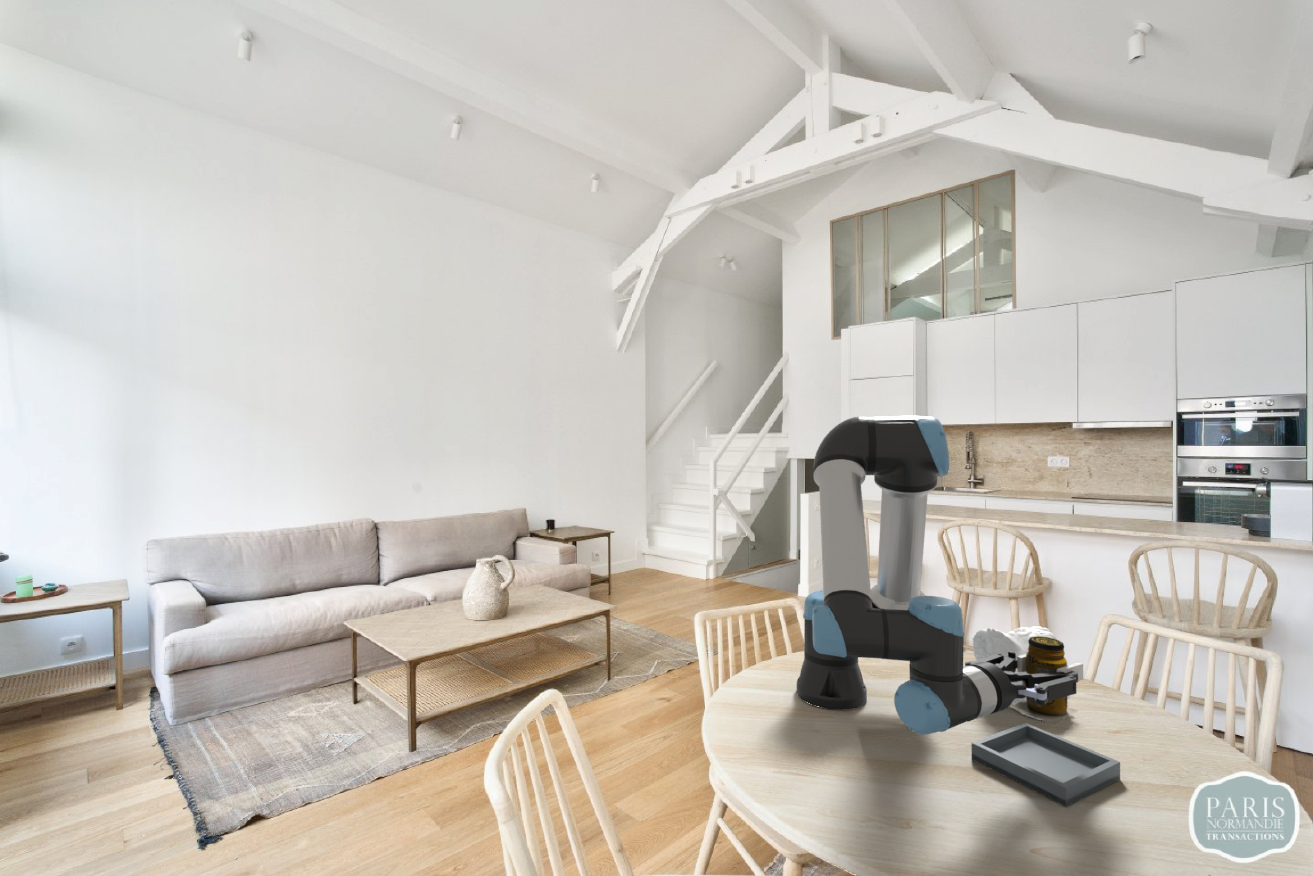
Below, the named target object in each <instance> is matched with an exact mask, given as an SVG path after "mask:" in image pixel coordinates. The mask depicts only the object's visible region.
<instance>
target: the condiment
mask: <svg viewBox="0 0 1313 876" xmlns="http://www.w3.org/2000/svg"><path fill="white" fill-rule="evenodd" d="M1028 642H1029V647H1028V650H1029V651H1028V653H1027V654H1026V673H1028V674H1041V673H1053V672H1057V669H1059V668H1062V667H1065V666H1068V661H1067V658H1066V657H1065V645H1064V642H1062V641H1061V640H1059V639H1057V638H1056V639H1053V638H1049V637H1038V636H1037V637H1031V638H1029V640H1028ZM1067 702H1068V699H1067V696H1066V697H1062V698H1059V699H1055V700H1051V701H1048V702H1047V703H1046V704H1045V705H1039V704H1037V703H1036V700H1035V698H1033V697H1029V696H1026V700H1023V701H1021V702H1018V703H1016V704H1015V705H1012V706H1009V708H1011V709H1014V710H1016V711H1017V710H1018V711H1020V712H1023V713H1025V714H1028V715H1031V716H1034V717H1035V718H1040V719H1043V720H1045V722H1048V723H1049V722H1050V723H1053V724H1057V723H1058V722H1060V721H1062V720H1064V719H1065V718H1069V717H1070V716H1072V715H1074V713H1077V712H1078V711H1079V710H1078V709H1075V708H1071V707H1069V706H1068V707H1067ZM1018 711H1017V712H1018ZM1020 712H1019V713H1020Z"/></svg>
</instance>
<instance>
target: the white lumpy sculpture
mask: <svg viewBox="0 0 1313 876" xmlns="http://www.w3.org/2000/svg"><path fill="white" fill-rule="evenodd" d="M1037 636H1038V637H1049V638H1053V639H1056V640H1057V637H1056V636H1055V634H1054V633H1053V632H1051V630H1050V629H1049V628H1047V627H1043V626H1041V625H1040V626H1037V625H1034V626H1030V627H1028V626H1027V627H1026V626H1025V627H1021V626H1020V627H1018V628H1014V629H1013V630H1010V631H1009V632H1003V631H1001V630H999V629H995V628H989V627H988V628H985V629H980V630H977V631H976V632H975V634H974V635H973V637H972V651H973V656H974V657H975V659H976V660H979V659H982V658H985V657H988V656H991V655H994V654H997V653H1001V654H1003V655H1004V657H1006V658H1007V657H1008V652H1015V653H1016V657H1017V656H1021V655H1024V654H1027V653H1028V651H1029V650H1028V647H1029V642H1028V640H1029V638H1031V637H1037ZM976 660H975V661H976ZM1016 672H1017V668H1016ZM1016 672H1015V673H1016ZM1069 699H1071V695H1070V696H1067V700H1069ZM1023 700H1026V697H1025V698H1022V699H1021V698H1018V699H1014V701H1013V702H1012V703H1011V705H1010V706H1012V705H1015V704H1016V703H1018V702H1021V701H1023ZM1010 706H1009V707H1010ZM1067 707H1068V708H1069V703H1068V701H1067ZM1016 711H1017V712H1018V713H1020V714H1021V715H1023V716H1025V715H1026V716H1025V717H1029V718H1031V719H1034V720H1038V721H1041V720H1042V722H1043V721H1045V720H1043V719H1040V718H1035V717H1034V716H1031V715H1028V714H1025V713H1023V712H1020V711H1018V710H1016ZM1045 722H1046V721H1045Z"/></svg>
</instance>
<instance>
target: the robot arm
mask: <svg viewBox="0 0 1313 876" xmlns="http://www.w3.org/2000/svg"><path fill="white" fill-rule="evenodd" d="M947 440H948V439H947V436H946V433H945V429H944V426H943V424H942V423H941V421H940V420H939V419H938V418H937V417H934V416H927V415H926V416H925V415H923V416H922V415H915V414H912V415H891V416H889V415H888V416H885V415H884V416H883V415H882V416H863V415H862V416H860V415H859V416H853V417H851V418H847V419H845V420H843V421H841V422H839V423H838V424H837V425H835V426H834V427H833V428H832V429H831V430H830V431H829V432H828V433H827V434H826V435H825V437H823V439H822V441H821V443H820V444H819V446H818V448H817V451H816V452H815V456H814V458H813V459H814V461H813V467H812V469H813V470H812V471H813V474H812V475H813V481H814V483H815V484H816V485H817V486H818V488H819V489H818V491H819V507H820V508H819V509H820V512H819V514H820V516H819V517H820V535H821V536H820V537H821V539H820V540H821V562H822V565H821V566H822V568H821V569H822V587H823V588H822V589H819V590H815V591H813V592H811V593H809V594H808V595H807V596H806V597H805V600H804V608H803V610H804V611H803V614H802V617H803V619H804V626H803V627H804V628H803V629H804V636H803V637H804V639H803V640H804V641H803V643H804V644H803V645H804V647H803V649H804V655H803V656H804V657H803V658H804V659H803V662H802V665H801V669H800V672H799V676H798V677H797V681H796V695H797V694H798V695H797V696H799V697H800V698H801V699H802V700H801V699H800V698H799V697H798V698H799V699H800V700H801V701H803V700H804V701H806V702H808V703H810V704H812V705H811V706H813V705H816V706H819V707H818V708H820V707H822V708H821V709H824V708H826V709H825V710H830V711H831V710H833V711H850V710H856V709H858V708H861V707H863V706H865V704H866V703H867V702H868V701H867V700H868V699H867V697H868V696H867V695H868V693H867V691H868V690H867V686H866V684H865V683H864V679H863V675H862V671H861V668H860V666H859V665H860V664H859V658H865V659H866V658H867V659H882V660H890V661H891V660H892V661H902V662H903V661H904V662H909V680H907V681H904V682H903V683H902V684H900V685H899V686H897V689H896V691H895V693H894V695H893V696H894V698H893V701H894V707H895V711H896V713H897V716H898V718H899V719H900V721H901V722H902V723H903V724H904V725H905V726H906V728H908V729H909V730H910V731H912V732H914V733H915V734H918V735H924V736H925V735H926V736H927V735H931V734H935V733H939V732H940V733H942V732H946V731H947V730H949V729H952V728H955V727H956V726H959V725H961V724H964V723H966V722H967V723H968V722H970V721H971V722H972V721H974V720H976V719H979V718H982V717H986V716H989V715H992V714H996V713H998V712H1001V711H1004V710H1006V709H1008V708H1010V705H1011V703H1012V702H1013V701H1014V699H1018V698H1021V699H1022V698H1025V697H1026V696H1029V697H1033V698H1035V700H1036V703H1037V704H1039V705H1045V704H1046V703H1047V702H1048V701H1051V700H1055V699H1059V698H1062V697H1066V696H1070V697H1071V696H1072V695H1073V696H1074V695H1076V694H1077V683H1078V682H1079V681H1083V680H1084V663H1083V662H1075V663H1072V664H1069V665H1068V664H1067V666H1065V667H1062V668H1059V669H1057V672H1053V673H1041V674H1028V673H1026V654H1024V655H1021V656H1017V657H1016V653H1015V652H1008V657H1007V658H1006V657H1004V655H1003V654H1001V653H997V654H994V655H991V656H988V657H985V658H982V659H979V660H971V661H965V662H964V645H965V644H964V637H965V632H964V619H963V610H962V608H961V606H960V604H959V603H957V602H956V601H955V600H952V599H949V598H946V597H943V596H936V595H935V596H933V595H925V593H924V592H923V591H922V590H921V589H922V588H921V586H922V585H921V584H922V573H923V572H922V570H923V561H924V560H923V559H924V548H925V547H924V546H925V544H924V543H925V534H926V533H925V532H926V520H927V519H926V518H927V509H928V508H927V506H928V496H929V495H928V494H929V493H930V492H932V491H934V490H936V487H937V484H938V477H940V478H942V477H945V476H947V475H948V474H949V471H950V454H949V453H950V452H949V447H948V441H947ZM867 476H874V480H873V481H874V483H875V484H876V486H878V487H879V488H880V489H881V501H880V502H881V503H880V504H881V505H880V522H879V539H878V540H879V541H878V543H879V545H878V560H877V561H878V563H877V564H878V565H877V583H876V584H875V585H874V586H872V587H871V581H870V580H871V579H870V569H869V560H868V559H869V558H868V547H867V538H866V537H867V536H866V525H865V524H866V523H865V514H864V503H863V495H862V494H863V493H862V485H863V483H864V482H865V481H866V477H867ZM1016 668H1017V672H1016ZM1015 672H1016V673H1015ZM804 701H803V702H804ZM806 702H805V703H806ZM808 703H807V704H808ZM810 704H809V705H810ZM816 706H815V707H816Z"/></svg>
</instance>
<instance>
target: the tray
mask: <svg viewBox="0 0 1313 876" xmlns="http://www.w3.org/2000/svg"><path fill="white" fill-rule="evenodd" d="M971 760H972V761H974V762H976V763H978V764H980V765H982V766H984V767H986V768H988V769H990V770H992V771H994V772H996V773H998V774H1000V775H1002V776H1003V777H1006V778H1008V779H1010V780H1012V781H1013V782H1016V783H1017V784H1019V785H1021V786H1023V787H1025V788H1027V789H1030V790H1031V791H1032V792H1033V791H1034V792H1035V793H1036V794H1039V795H1041V796H1043V797H1045V798H1047V799H1049V800H1051V801H1053V802H1055V803H1056V804H1059V805H1061V806H1062V807H1064V808H1067V807H1069V806H1071V805H1073V804H1075V803H1077V802H1079V801H1081V800H1083V799H1085V798H1088V797H1089V796H1091V795H1092V794H1095V793H1097V792H1099V791H1101V790H1102V789H1104V788H1107V787H1109V786H1110V785H1113V784H1115V783H1117V782H1118V781H1121V761H1118V760H1116V759H1114V758H1111V757H1109V756H1106V755H1104V754H1103V753H1100V752H1097V751H1094V750H1092V749H1089V748H1087V747H1085V746H1082V745H1080V744H1078V743H1075V742H1072V741H1070V740H1068V739H1065V738H1063V737H1061V736H1059V735H1056V734H1054V733H1052V732H1049V731H1046V730H1044V729H1041V728H1039V727H1037V726H1034V725H1033V724H1032V725H1031V724H1029V723H1028V722H1024V723H1020V724H1018V725H1016V726H1013V727H1009V728H1007V729H1004V730H1002V731H999V732H996V733H993V734H991V735H989V736H985V737H983V738H980V739H978V740H976V741H975V740H974V741H972V742H971Z"/></svg>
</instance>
